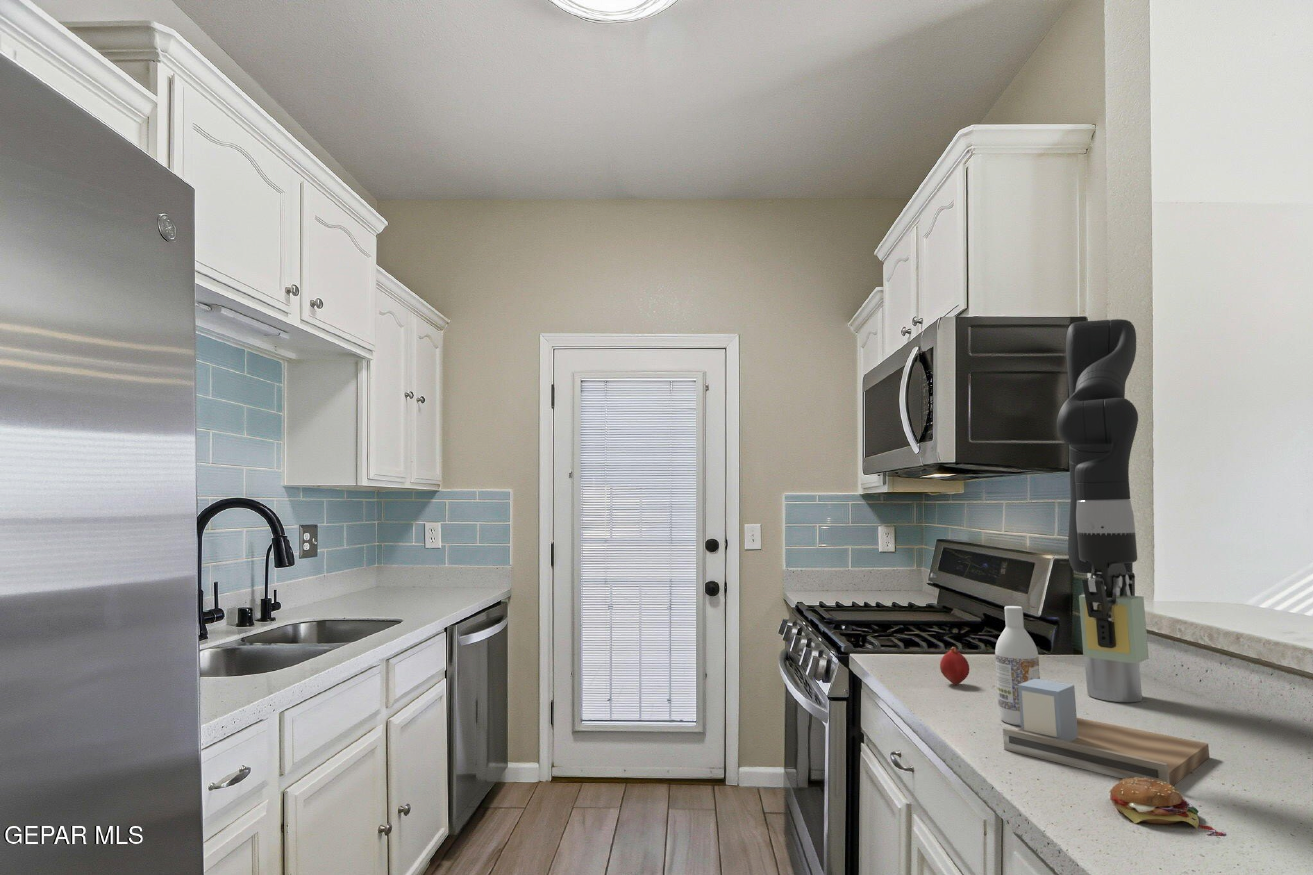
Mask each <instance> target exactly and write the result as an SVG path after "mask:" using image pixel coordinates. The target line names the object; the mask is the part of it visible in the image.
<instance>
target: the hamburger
mask: <svg viewBox="0 0 1313 875" xmlns="http://www.w3.org/2000/svg"><path fill="white" fill-rule="evenodd" d="M1109 794H1110V795H1109V796H1110V800H1111V802H1112V804H1113V806H1114V807H1115V808H1116V810H1117V811H1118V812H1120V813H1121V814H1123V815H1124V816H1126V817H1127V818H1128V819H1130V820H1131V821H1132V822H1133V824H1137V823H1140V822H1144V823H1150V824H1154V825H1156V824H1157V825H1171V824H1176V823H1177V824H1178V823H1179V822H1181V821H1183V822H1187V823H1189V824H1190V825H1192V826H1193V827H1194V828H1195V829H1199V830H1201V829H1202V830H1207V832H1210V833H1206V836H1208V837H1212V836H1220V837H1223V836H1226V835H1227V834H1226V832H1224V831H1217V829H1214V828H1213V827H1212V826H1210V825H1204V824H1199V823H1200V822H1199V821H1200V820H1199V818H1198V813H1199V810H1198V809H1197V808H1196V807H1194V806H1193V805H1192V804H1191V802H1189V801H1188V800H1187V799H1186V798H1185V797H1184V795H1183V794H1181V793H1180V791H1178V790H1177V788H1176V787H1175V786H1174V785H1173V786H1172V785H1170V784H1168V783H1166V782H1161V781H1158V780H1154V779H1147V778H1139V777H1137V778H1130V779H1127V778H1126V779H1122V778H1121V780H1120V781H1119V782H1117V784H1114V785H1113V787H1112V788H1111V789H1110V790H1109Z"/></svg>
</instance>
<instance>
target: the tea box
mask: <svg viewBox="0 0 1313 875" xmlns="http://www.w3.org/2000/svg"><path fill="white" fill-rule="evenodd" d="M1107 599H1108V600H1109V599H1111V598H1107ZM1144 600H1145V599H1144V596H1141V595H1140V596H1139V595H1135V596H1124V595H1122V596H1120V597H1119V598H1118V599H1117V601H1118V605H1116V606H1115V607H1114V617H1115V619H1114V625H1115V638H1116V647H1114V648H1105V647H1100V646H1099V645H1098V639H1097V626H1096V620H1094V619H1093V618H1092V617H1089V616H1088V612H1087V606H1086V600H1085V595H1081V594H1080V595H1078V601H1079V602H1078V603H1079V616H1080V629H1081V639H1082V640H1081V641H1082V655H1083V657H1084V658H1085V657H1090V658H1098V659H1105V660H1113V661H1120V662H1128V663H1135V664H1137V663H1139V664H1140V663H1142V662H1144V661H1146V660H1148V659H1150V657H1149V644H1148V633H1147V623H1146V622H1147V620H1146V611H1145V610H1146V609H1145V602H1144ZM1093 607H1094V604H1093ZM1099 610H1102V609H1101V605H1100V606H1099Z"/></svg>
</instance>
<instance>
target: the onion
mask: <svg viewBox="0 0 1313 875" xmlns="http://www.w3.org/2000/svg"><path fill="white" fill-rule="evenodd" d="M940 659H941V660H940V663H939V670H940V672H941V673H942V675H943V676H944V677H945V679H947V680H948V681H949V682H950V683H951V684H952V685H954V686H958V685H960V684H961V683H962V682H963V681H965V679H966V678H968V676H969V674H970V664H969V661H968V660H967V658H966V657H965V656H964V655H963V654H962V653H961V652H960V651H958V650H957V647H955V646H952V647H951V648H950V650H949V651H948V652H946V653H944V655H943V656H942V658H940Z"/></svg>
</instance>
